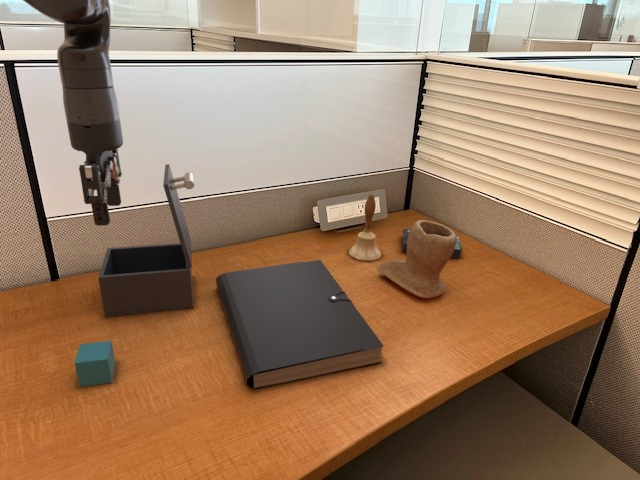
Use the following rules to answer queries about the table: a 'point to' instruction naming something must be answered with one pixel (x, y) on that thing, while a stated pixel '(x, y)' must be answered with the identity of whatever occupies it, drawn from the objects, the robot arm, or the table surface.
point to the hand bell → (366, 237)
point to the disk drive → (455, 253)
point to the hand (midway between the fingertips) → (108, 214)
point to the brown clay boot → (422, 259)
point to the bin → (145, 280)
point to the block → (95, 363)
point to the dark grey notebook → (294, 324)
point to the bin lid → (179, 208)
